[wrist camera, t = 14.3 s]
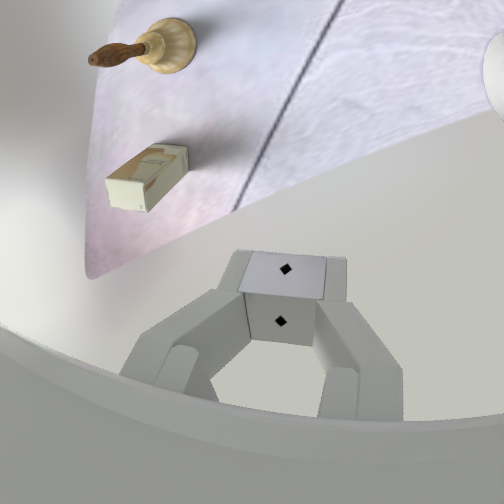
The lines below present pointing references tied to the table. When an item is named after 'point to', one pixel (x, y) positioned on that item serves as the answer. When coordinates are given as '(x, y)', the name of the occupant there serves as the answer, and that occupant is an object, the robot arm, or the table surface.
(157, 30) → the hand bell
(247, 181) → the table surface
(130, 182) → the skincare box
